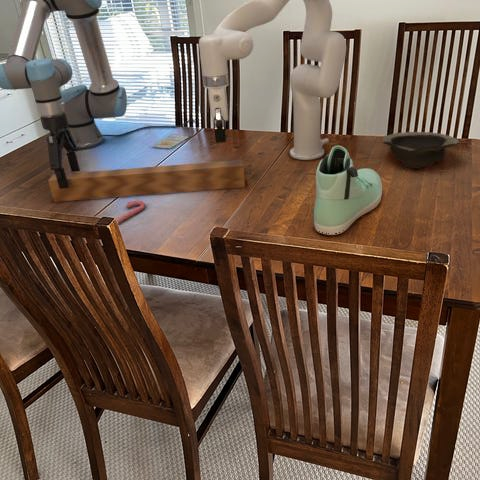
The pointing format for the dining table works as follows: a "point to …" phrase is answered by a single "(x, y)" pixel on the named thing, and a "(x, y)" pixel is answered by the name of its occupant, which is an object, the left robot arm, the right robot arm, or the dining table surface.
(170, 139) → the baking ingredient package
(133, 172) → the post
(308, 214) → the dining table surface
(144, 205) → the candy cane
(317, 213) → the sneaker
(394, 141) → the stone bowl
